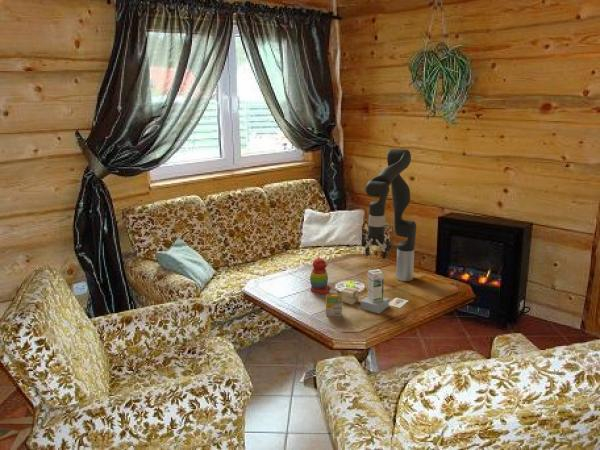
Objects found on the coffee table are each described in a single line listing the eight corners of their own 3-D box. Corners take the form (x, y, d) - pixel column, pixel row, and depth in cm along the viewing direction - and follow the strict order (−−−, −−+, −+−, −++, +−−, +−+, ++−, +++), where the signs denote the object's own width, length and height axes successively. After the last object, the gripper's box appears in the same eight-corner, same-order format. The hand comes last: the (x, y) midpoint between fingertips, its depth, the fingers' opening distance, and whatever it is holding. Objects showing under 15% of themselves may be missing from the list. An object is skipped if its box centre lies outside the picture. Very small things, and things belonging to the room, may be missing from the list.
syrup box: (372, 302, 240) (373, 274, 236) (367, 297, 246) (367, 269, 242) (383, 300, 242) (384, 272, 238) (378, 296, 247) (378, 268, 243)
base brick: (370, 301, 251) (370, 294, 250) (388, 306, 245) (388, 298, 244) (360, 308, 243) (360, 301, 242) (379, 313, 238) (379, 305, 236)
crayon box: (341, 313, 239) (341, 290, 236) (342, 316, 236) (342, 293, 233) (326, 313, 238) (325, 291, 235) (326, 316, 236) (326, 293, 232)
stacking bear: (327, 295, 260) (327, 262, 255) (308, 293, 262) (308, 261, 257) (330, 287, 270) (330, 255, 265) (312, 285, 272) (311, 254, 267)
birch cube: (347, 297, 256) (347, 286, 255) (357, 300, 253) (358, 289, 251) (341, 301, 252) (341, 290, 250) (351, 304, 248) (352, 293, 247)
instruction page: (395, 297, 255) (395, 297, 255) (408, 300, 251) (408, 300, 251) (386, 304, 247) (386, 304, 247) (400, 308, 243) (400, 307, 243)
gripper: (394, 224, 232) (393, 257, 236) (366, 220, 240) (366, 252, 244) (386, 228, 226) (386, 262, 230) (359, 223, 234) (358, 256, 238)
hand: (375, 257), depth 237 cm, fingers open, 8 cm apart
